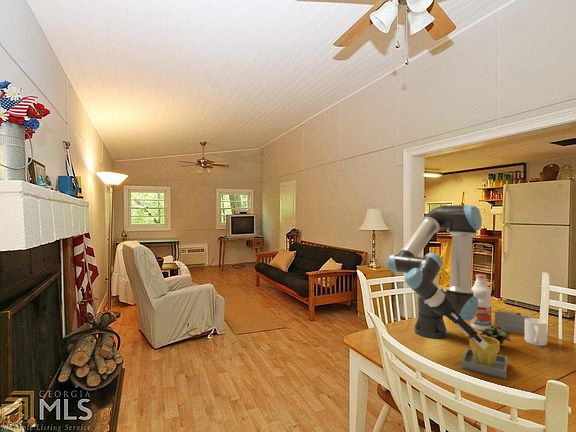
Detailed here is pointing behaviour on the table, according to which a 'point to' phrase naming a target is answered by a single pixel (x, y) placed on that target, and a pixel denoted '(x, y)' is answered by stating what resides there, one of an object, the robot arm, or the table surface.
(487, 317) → the fruit juice
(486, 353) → the plant pot
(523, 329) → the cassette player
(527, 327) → the mug
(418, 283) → the robot arm
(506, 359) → the tray
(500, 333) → the green leafy plant
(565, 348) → the table surface
